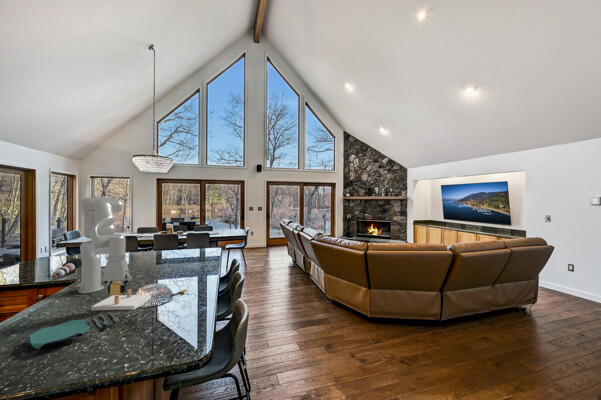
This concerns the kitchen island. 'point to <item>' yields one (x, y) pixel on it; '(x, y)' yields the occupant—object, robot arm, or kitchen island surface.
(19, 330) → the kitchen island surface
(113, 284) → the acorn cap nut
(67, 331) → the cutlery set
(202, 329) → the kitchen island surface
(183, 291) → the composite cable
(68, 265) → the striped roll
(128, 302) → the plate
